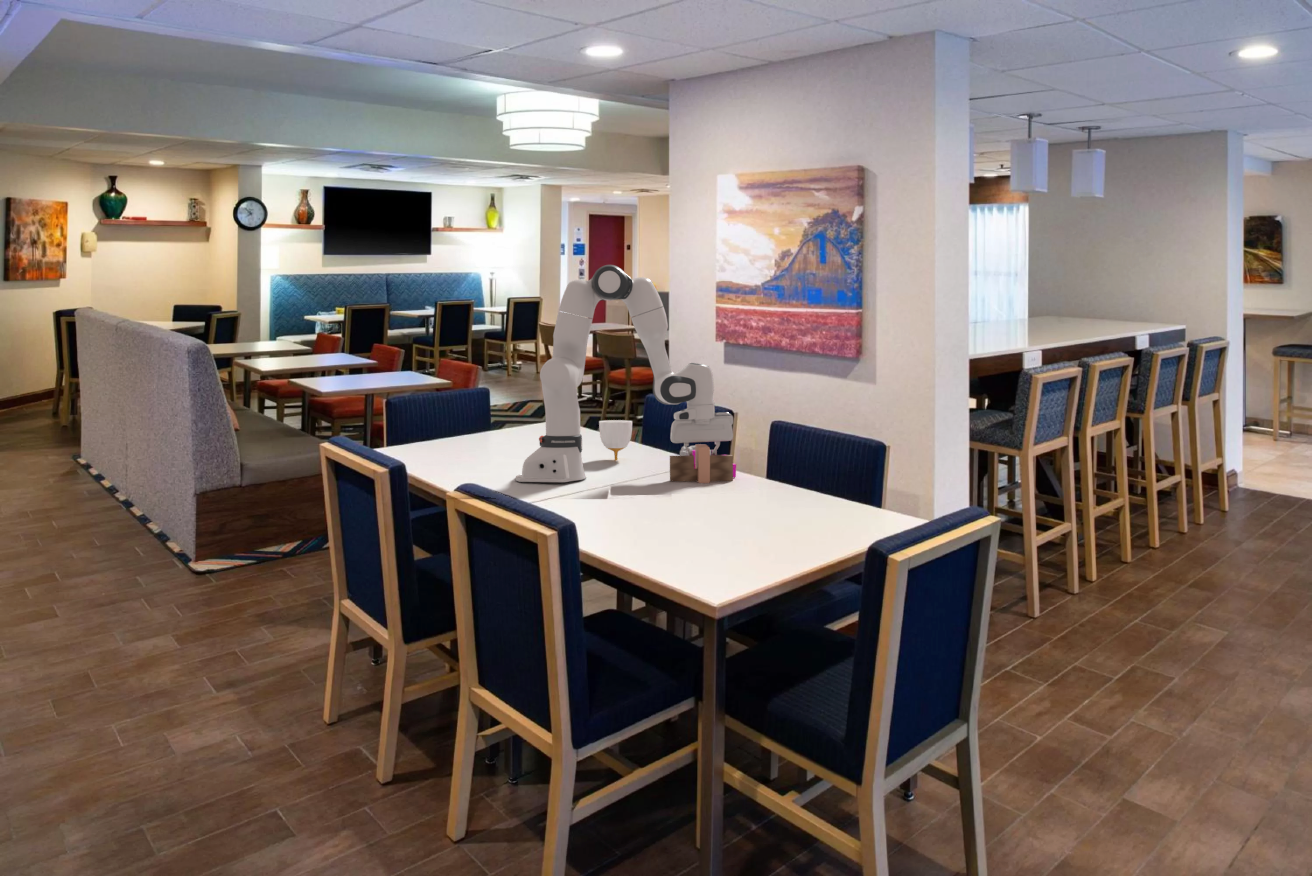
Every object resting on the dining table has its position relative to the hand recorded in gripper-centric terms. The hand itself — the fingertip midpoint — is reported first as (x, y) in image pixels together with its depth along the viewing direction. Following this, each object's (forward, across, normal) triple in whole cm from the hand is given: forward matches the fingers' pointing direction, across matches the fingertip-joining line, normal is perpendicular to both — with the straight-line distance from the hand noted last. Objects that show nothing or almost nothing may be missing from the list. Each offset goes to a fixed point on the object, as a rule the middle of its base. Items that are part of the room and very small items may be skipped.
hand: (702, 455), depth 315 cm
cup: (+7, +27, -29) cm, 40 cm away
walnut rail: (+7, +1, +5) cm, 9 cm away
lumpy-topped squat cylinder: (+8, 0, -21) cm, 22 cm away
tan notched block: (+7, +1, +4) cm, 9 cm away
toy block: (+7, -4, -6) cm, 10 cm away
